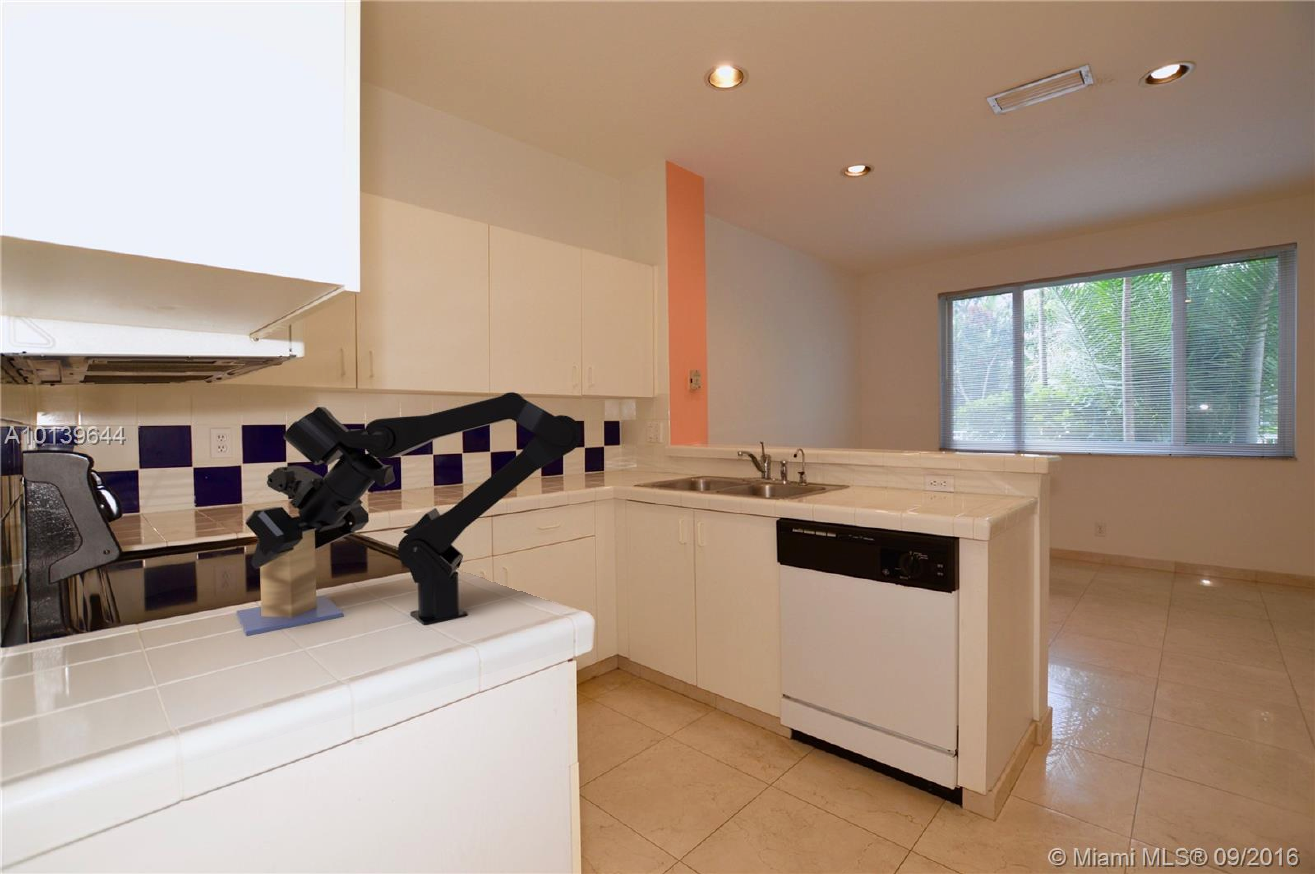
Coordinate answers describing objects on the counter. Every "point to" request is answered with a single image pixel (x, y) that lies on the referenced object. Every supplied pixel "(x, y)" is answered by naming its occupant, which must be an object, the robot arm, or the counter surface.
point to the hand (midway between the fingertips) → (279, 558)
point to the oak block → (290, 581)
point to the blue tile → (259, 624)
